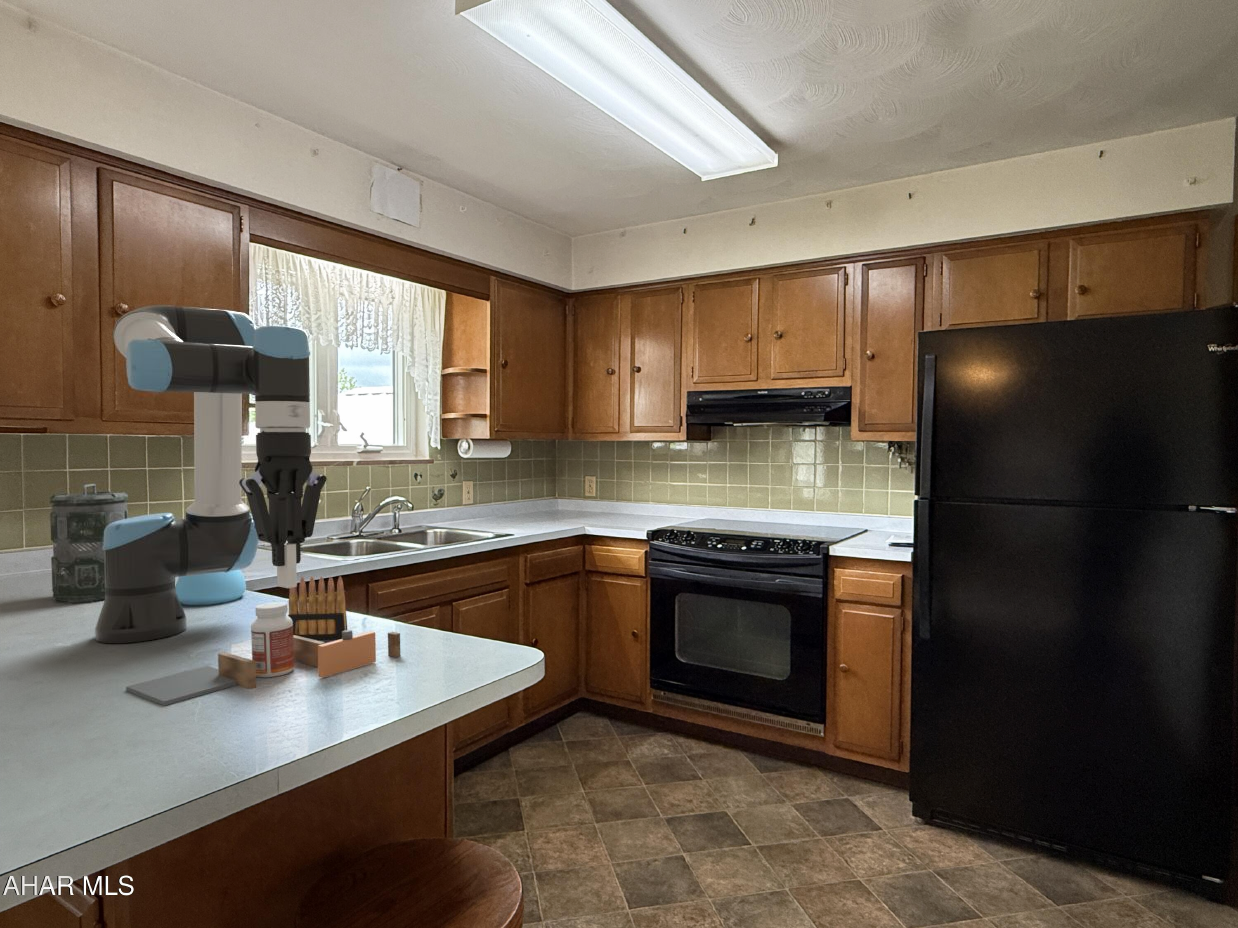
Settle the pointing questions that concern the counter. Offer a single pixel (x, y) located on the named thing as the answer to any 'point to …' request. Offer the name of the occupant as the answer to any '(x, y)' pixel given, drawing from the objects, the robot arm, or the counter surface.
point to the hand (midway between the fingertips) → (287, 586)
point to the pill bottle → (272, 640)
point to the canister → (82, 542)
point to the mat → (182, 685)
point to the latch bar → (346, 653)
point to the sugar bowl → (210, 588)
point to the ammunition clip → (318, 611)
